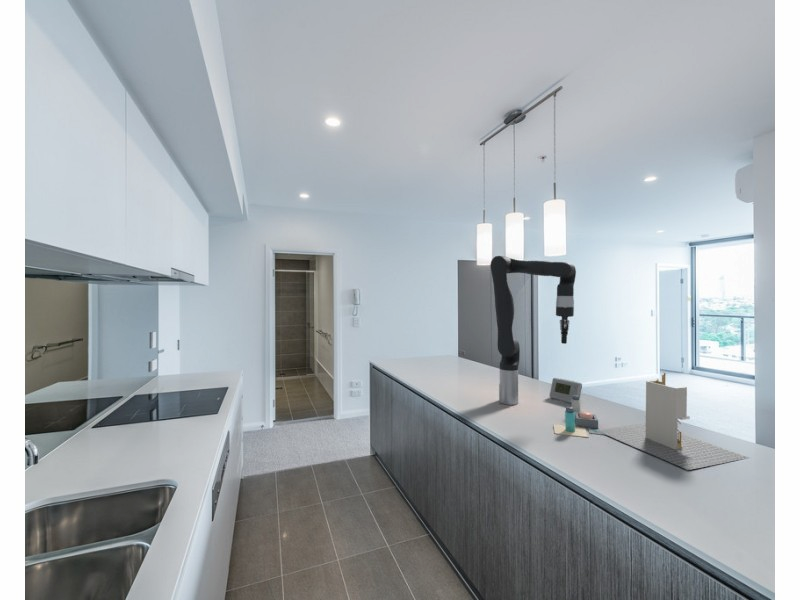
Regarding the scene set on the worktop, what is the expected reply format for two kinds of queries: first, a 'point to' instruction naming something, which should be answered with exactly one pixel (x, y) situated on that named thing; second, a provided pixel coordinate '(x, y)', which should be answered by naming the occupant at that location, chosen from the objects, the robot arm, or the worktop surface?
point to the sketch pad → (578, 432)
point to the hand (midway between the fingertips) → (563, 343)
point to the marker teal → (570, 419)
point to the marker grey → (576, 403)
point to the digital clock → (564, 389)
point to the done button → (586, 415)
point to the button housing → (586, 421)
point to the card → (592, 431)
